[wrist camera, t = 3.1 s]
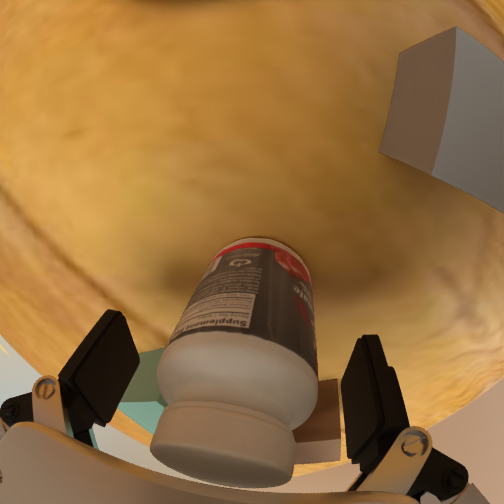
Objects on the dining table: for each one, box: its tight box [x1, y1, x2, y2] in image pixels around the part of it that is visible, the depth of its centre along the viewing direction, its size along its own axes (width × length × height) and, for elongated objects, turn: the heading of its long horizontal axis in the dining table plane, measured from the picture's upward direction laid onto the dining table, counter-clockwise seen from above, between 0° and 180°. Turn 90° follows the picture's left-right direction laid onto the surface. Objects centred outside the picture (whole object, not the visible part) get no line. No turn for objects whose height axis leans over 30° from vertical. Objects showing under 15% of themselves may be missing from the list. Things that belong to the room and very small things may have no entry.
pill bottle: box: [150, 238, 318, 488], centre depth 10 cm, size 5×5×10 cm
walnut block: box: [292, 379, 341, 464], centre depth 16 cm, size 5×5×5 cm
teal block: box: [117, 347, 168, 435], centre depth 17 cm, size 5×5×5 cm
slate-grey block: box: [379, 26, 504, 214], centre depth 7 cm, size 5×5×5 cm
